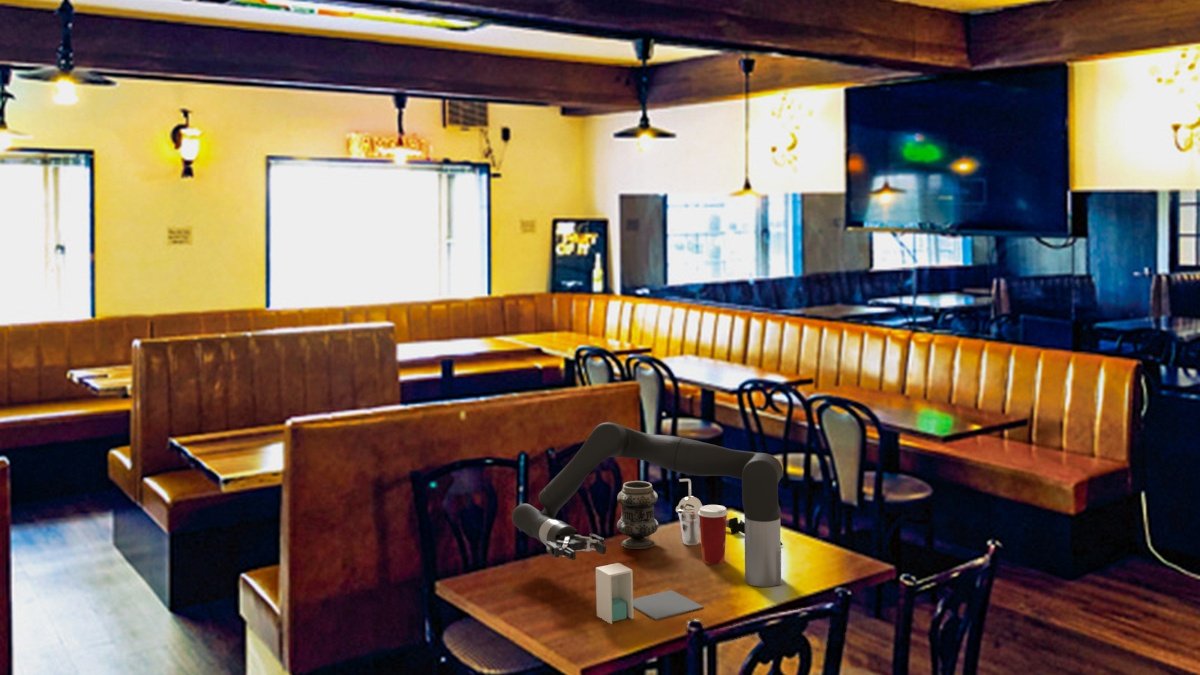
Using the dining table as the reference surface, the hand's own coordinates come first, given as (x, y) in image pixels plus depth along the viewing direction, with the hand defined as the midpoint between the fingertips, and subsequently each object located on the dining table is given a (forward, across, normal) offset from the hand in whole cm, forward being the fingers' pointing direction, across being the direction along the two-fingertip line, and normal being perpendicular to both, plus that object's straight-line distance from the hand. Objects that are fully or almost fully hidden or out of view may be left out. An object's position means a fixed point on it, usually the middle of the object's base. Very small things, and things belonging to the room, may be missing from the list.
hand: (589, 553), depth 267 cm
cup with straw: (-26, +48, +13) cm, 56 cm away
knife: (-23, +66, +13) cm, 71 cm away
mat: (+12, +14, +12) cm, 22 cm away
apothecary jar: (-33, +35, +13) cm, 50 cm away
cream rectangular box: (+12, 0, +13) cm, 17 cm away
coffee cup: (-9, +44, +13) cm, 47 cm away
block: (+12, 0, +13) cm, 17 cm away
